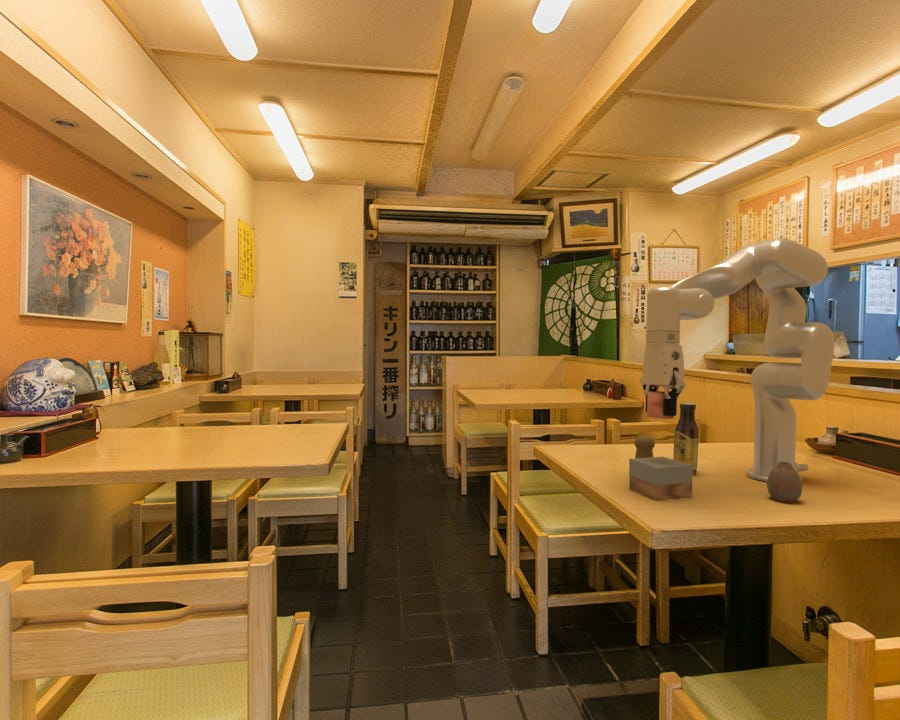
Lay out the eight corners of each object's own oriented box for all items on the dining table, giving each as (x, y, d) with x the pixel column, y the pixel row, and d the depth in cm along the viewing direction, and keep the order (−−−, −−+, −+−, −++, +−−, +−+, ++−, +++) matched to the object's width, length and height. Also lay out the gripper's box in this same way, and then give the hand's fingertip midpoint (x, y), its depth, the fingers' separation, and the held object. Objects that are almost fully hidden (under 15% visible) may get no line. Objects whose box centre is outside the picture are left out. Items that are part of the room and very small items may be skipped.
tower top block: (662, 472, 127) (662, 456, 127) (692, 482, 117) (692, 465, 117) (629, 474, 124) (629, 458, 124) (656, 485, 114) (657, 468, 114)
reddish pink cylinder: (662, 415, 124) (663, 391, 124) (679, 418, 118) (680, 393, 118) (641, 415, 123) (642, 391, 123) (657, 418, 117) (658, 393, 117)
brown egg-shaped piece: (803, 506, 112) (804, 467, 111) (766, 501, 115) (767, 463, 115) (801, 498, 117) (802, 461, 117) (766, 494, 121) (767, 458, 121)
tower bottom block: (664, 488, 127) (664, 472, 127) (691, 499, 117) (692, 482, 117) (629, 490, 125) (629, 474, 125) (654, 502, 115) (654, 484, 115)
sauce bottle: (668, 470, 144) (669, 401, 144) (689, 470, 145) (690, 401, 145) (681, 476, 138) (682, 404, 137) (702, 475, 138) (704, 404, 138)
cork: (657, 479, 134) (658, 439, 133) (634, 478, 135) (634, 437, 135) (653, 474, 139) (654, 435, 139) (630, 473, 141) (631, 434, 140)
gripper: (701, 339, 113) (699, 418, 113) (653, 340, 130) (651, 409, 130) (673, 338, 111) (670, 418, 111) (627, 339, 128) (626, 409, 128)
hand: (660, 413), depth 121 cm, fingers closed on reddish pink cylinder, 6 cm apart
